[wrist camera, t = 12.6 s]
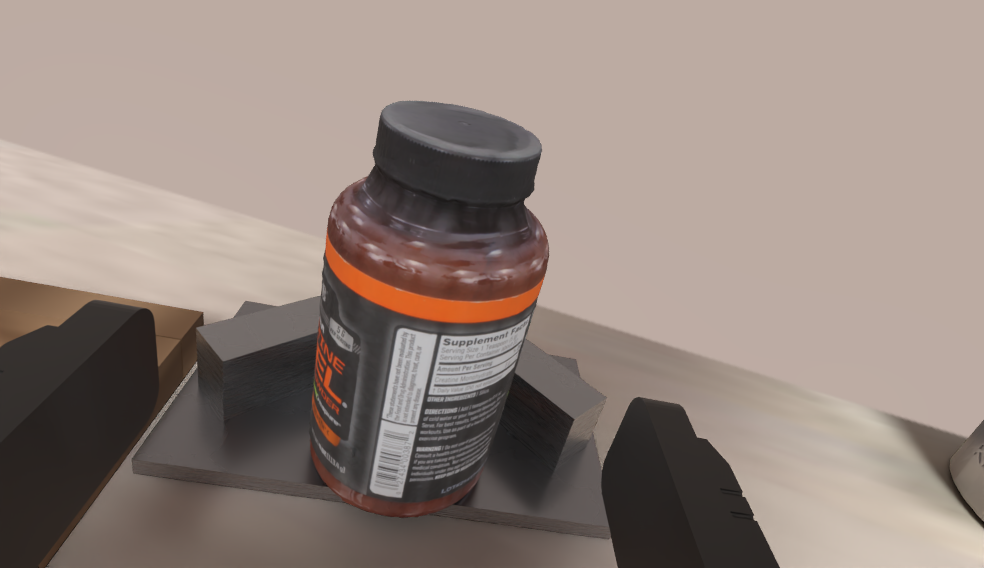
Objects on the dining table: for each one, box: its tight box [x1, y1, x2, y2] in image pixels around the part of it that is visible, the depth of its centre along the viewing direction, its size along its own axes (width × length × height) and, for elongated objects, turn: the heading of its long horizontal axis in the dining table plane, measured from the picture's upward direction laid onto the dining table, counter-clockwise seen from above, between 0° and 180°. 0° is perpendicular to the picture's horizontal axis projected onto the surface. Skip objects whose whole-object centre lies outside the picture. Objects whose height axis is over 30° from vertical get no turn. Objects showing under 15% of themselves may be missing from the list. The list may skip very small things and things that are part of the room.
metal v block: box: [132, 296, 611, 539], centre depth 21 cm, size 15×9×3 cm, turn 91°
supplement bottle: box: [309, 101, 549, 518], centre depth 16 cm, size 6×6×11 cm
